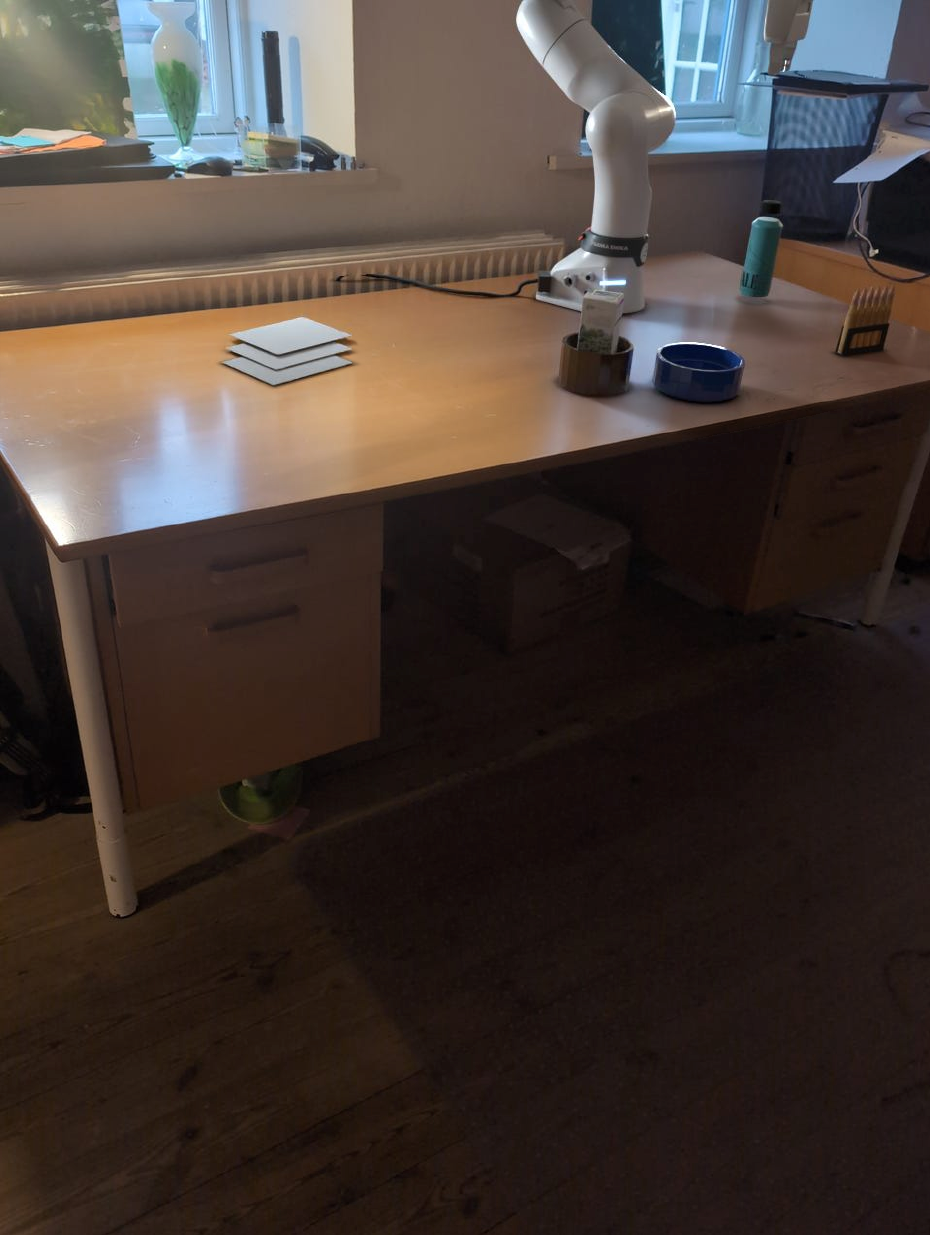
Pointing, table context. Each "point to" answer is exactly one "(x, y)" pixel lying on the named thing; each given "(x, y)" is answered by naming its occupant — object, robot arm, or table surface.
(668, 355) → the bowl
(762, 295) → the beverage bottle
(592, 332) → the syrup box
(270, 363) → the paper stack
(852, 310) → the ammunition clip
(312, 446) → the table surface
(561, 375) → the cup
